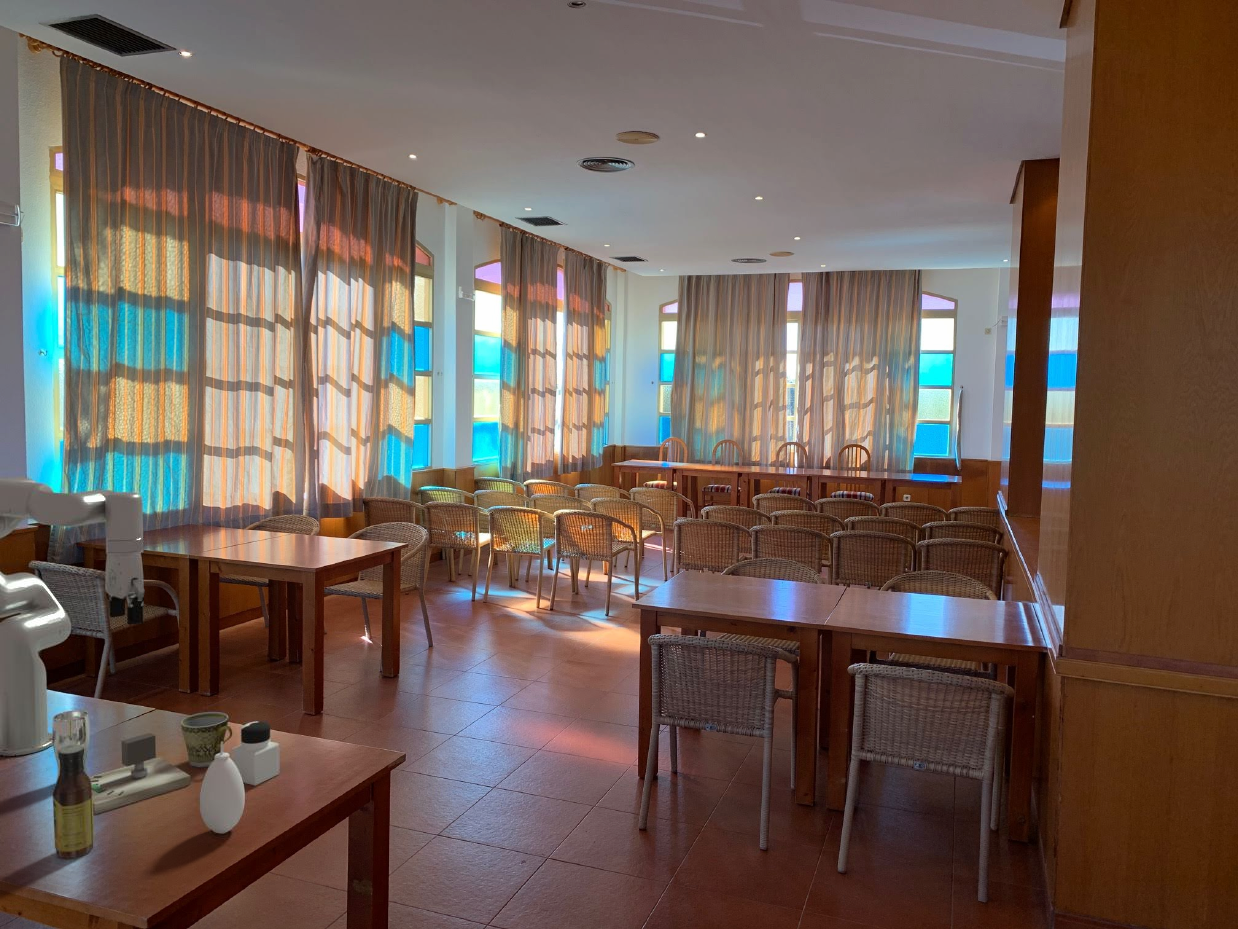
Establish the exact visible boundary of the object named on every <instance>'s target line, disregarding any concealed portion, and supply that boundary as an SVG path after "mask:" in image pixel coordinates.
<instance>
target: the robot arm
mask: <svg viewBox="0 0 1238 929" xmlns="http://www.w3.org/2000/svg"><path fill="white" fill-rule="evenodd" d="M143 503H144V502H143V496H142V495H141V494H140V493H139V492H134V491H119V492H118V491H114V490H110V489H95V490H86V491H77V492H71V493H68V492H67V493H65V492H54V491H53V489H52V487H51V486H50V485H48V484H46V483H43V482H36V481H35V480H34V479H32V478H29V477H26V476H25V477H24V476H17V477H16V476H15V477H5V478H3V477H2V478H0V539H2V538H4V537H6V536H7V535H9V534H10V533H12V532H13V531H14V530H15V529H16V528H17V527H18V526H19V525H20V524H21V523H23V521H25V520H26V519H28V520H29V519H30V520H33V521H35V522H36V523H39V524H42V525H48V526H55V527H56V526H57V527H69V528H70V527H71V528H72V527H73V528H74V527H81V526H86V525H87V526H88V525H92V524H99V523H105V554H106V559H105V560H106V561H105V579H104V580H105V581H104V583H105V584H104V585H105V586H104V588H105V589H104V590H105V592H106V594H108V600H109V604H108V605H109V617H110V618H117V617H124V616H125V615H126V617H127V619H126V623H127V625H130V626H131V625H132V626H133V625H139V624H142V623H143V622H144V605H145V604H144V599H145V597H144V595H145V588H144V570H143V567H144V566H143V561H142V559H143V558H142V554H141V553H144V512H143V510H144V508H143V505H144V504H143ZM126 601H127V604H128V606H127V607H126ZM16 614H17V615H16ZM12 615H14V616H12ZM8 616H11V617H8ZM6 617H8V618H6ZM0 618H5V619H4V620H2V621H1V622H0V756H1V755H3V757H12V756H13V757H14V756H15V755H16V756H24V755H29V754H33V753H38V752H41V751H42V750H46V749H48V748H50V747H51V746H52V747H53V741H52V732H51V733H50V732H48V727H49V725H48V698H47V697H48V692H47V687H48V686H47V671H46V667H45V664H44V662H43V660H42V658H40V656H39V654H38V653H39V652H41V651H42V650H45V649H48V648H51V647H54V646H56V645H59V644H61V643H63V642H65V641H66V640H67V639H68V637H69V636H70V635H71V630H72V623H71V619H70V617H69V615H68V613H67V611H66V610H65V609H64V608H63V606H62V605H61V603H60V602H59V601H58V599H57V598H56V597H55V595H54V594H53V592H52V591H51V590H50V588H49V587H48V586H47V584H46V583H45V582H44V580H42V579H41V578H39V576H36V575H35V574H32V573H31V572H30V573H29V572H17V573H13V574H8V575H7V574H4V573H2V572H1V570H0ZM16 756H15V757H16Z"/></svg>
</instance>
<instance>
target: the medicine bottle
mask: <svg viewBox="0 0 1238 929" xmlns="http://www.w3.org/2000/svg"><path fill="white" fill-rule="evenodd" d="M231 760H232V761H233V762H234V763H235V765H236V767H237V768H238V770H239V773H240V775H241V778H242V781H243V782H244V783H243V784H247V785H252V786H255V787H257V785H260V784H262V783H263V782H266V781H268V780H270V779H272V778H274V777H276V776H278V775H280V744H279V743H278V742H273V741H271V725H270V724H269V723H268V722H265V721H261V720H260V721H251V722H247V723H246V724H244V725H242V727H241V728H240V744H239V745H238V746H235V747H232V748H231Z"/></svg>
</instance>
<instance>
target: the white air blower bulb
mask: <svg viewBox="0 0 1238 929" xmlns="http://www.w3.org/2000/svg"><path fill="white" fill-rule="evenodd" d="M214 759H215V760H214V761H213V762H212V763H211V765H210V766H208V768H207V770H206V772H205V775H204V777H203V780H202V784H201V788H200V794H199V810H200V815H201V818H202V821H203V822H204V824H205V826H206V827H207V828H208V829H209V830H211V831H212V832H214V833H217V834H221V835H222V834H226V833H227V832H229V831H231V830H232V829H233V827H235V826H236V825H238V823H239V821H240V819H241V817H242V815H243V812H244V809H245V798H246V794H245V786H244V785H245V784H244V783H243V781H242V778H241V775H240V773H239V770H238V768H237V767H236V765H235V763H234V762H233V761H232V758H231V757H230V754H229V753H228V752H224V744H223V742H222V741H221V753H218V754H216V755H215V757H214Z"/></svg>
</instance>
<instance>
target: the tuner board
mask: <svg viewBox="0 0 1238 929" xmlns="http://www.w3.org/2000/svg"><path fill="white" fill-rule="evenodd" d="M144 767H147V768H148V774H147V776H145V777H142V778H130V779H127V780H124V781H121V782H118V783H115V784H112V785H109V786H106V787H103V788H101V787H100V785H101V784H104V783H107V782H110V781H113V780H116V779H120V778H123V777H126V776H129V775H131V770H132V769H134V765H131V766H128V767H127V766H124V767H120V768H116V769H114V770H109V771H106V772H103V773H98V774H95V775H92V776H89V778H90V780H91V783H92V784H91V785H92V786H91V787H92V794H93V814H94V815H97V814H102V813H104V812H107V811H111V810H114V809H116V808H120V807H123V806H126V804H127V805H129V804H133V803H136V801H137V802H139V801H142V800H146V799H149V798H152V797H156V796H158V795H162V794H165V793H170V792H171V791H175V790H178V789H181V788H185V787H188V786H190V785H191V775H190V774H188V773H186V772H185V771H184V770H181V769H180V768H178V767H176V766H175V765H173V764H172V763H170V762H168V761H167V760H166V759H164V758H162V757H161V756H159V757H157V758H154V759H150V760H147V761H144ZM132 802H133V803H132Z"/></svg>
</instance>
